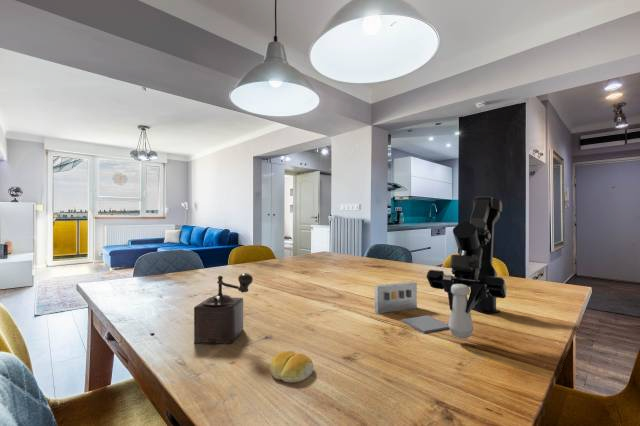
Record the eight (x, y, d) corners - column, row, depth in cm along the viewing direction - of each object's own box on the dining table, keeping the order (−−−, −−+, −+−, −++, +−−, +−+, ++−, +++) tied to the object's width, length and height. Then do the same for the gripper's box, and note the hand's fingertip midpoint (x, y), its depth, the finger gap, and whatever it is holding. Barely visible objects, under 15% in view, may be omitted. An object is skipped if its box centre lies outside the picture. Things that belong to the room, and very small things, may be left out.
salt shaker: (476, 341, 74) (475, 288, 74) (451, 339, 75) (450, 287, 75) (469, 331, 80) (468, 282, 80) (446, 330, 81) (445, 281, 81)
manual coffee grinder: (191, 344, 77) (191, 274, 77) (209, 328, 88) (209, 267, 88) (250, 346, 77) (250, 275, 77) (261, 329, 88) (261, 267, 88)
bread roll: (286, 359, 70) (286, 342, 70) (318, 370, 65) (318, 351, 65) (261, 375, 63) (261, 356, 63) (295, 389, 58) (295, 368, 58)
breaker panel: (413, 306, 108) (413, 281, 108) (418, 308, 106) (418, 283, 106) (374, 311, 103) (374, 285, 103) (379, 314, 100) (378, 287, 100)
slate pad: (427, 317, 97) (427, 315, 97) (451, 328, 88) (451, 326, 88) (401, 321, 93) (401, 319, 93) (423, 333, 84) (423, 330, 84)
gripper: (428, 241, 86) (413, 287, 78) (504, 245, 74) (497, 300, 66) (437, 264, 92) (425, 310, 84) (508, 271, 81) (502, 325, 72)
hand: (458, 311), depth 76 cm, fingers closed on salt shaker, 3 cm apart
